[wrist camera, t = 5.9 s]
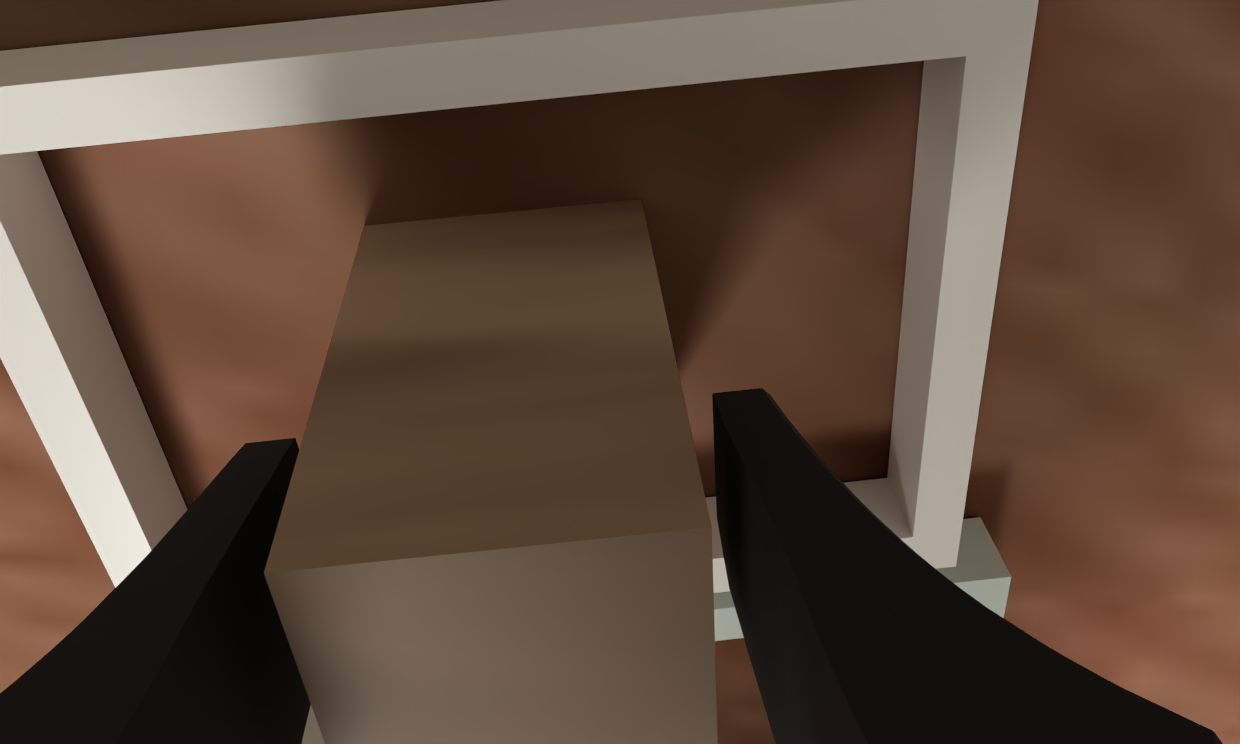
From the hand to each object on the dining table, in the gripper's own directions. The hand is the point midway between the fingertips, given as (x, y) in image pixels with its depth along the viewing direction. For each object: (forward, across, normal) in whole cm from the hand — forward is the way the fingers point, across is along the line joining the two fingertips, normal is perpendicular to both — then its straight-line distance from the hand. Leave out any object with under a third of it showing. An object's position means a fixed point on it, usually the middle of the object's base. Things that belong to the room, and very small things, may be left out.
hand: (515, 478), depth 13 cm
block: (+4, 0, 0) cm, 4 cm away
